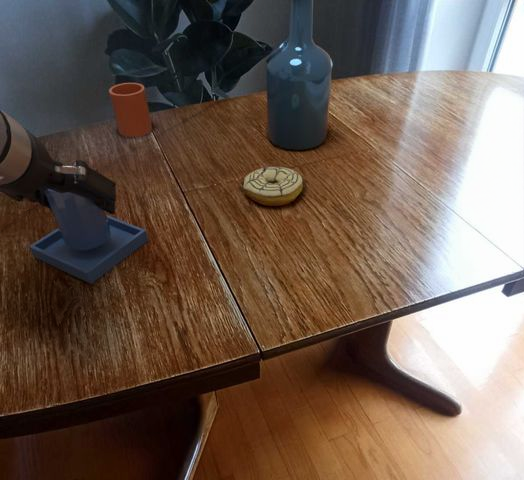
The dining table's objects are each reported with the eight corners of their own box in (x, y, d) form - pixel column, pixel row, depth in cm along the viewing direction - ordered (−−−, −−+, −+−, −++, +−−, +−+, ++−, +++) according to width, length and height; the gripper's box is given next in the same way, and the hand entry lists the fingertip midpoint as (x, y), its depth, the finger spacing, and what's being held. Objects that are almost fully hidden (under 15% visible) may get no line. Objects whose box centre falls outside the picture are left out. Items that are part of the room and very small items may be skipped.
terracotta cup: (113, 139, 105) (101, 91, 97) (136, 127, 109) (126, 80, 101) (138, 146, 102) (127, 98, 94) (160, 134, 106) (151, 86, 99)
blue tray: (33, 257, 76) (28, 246, 74) (93, 218, 83) (89, 208, 81) (90, 284, 71) (86, 273, 69) (148, 240, 78) (146, 229, 76)
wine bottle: (335, 132, 105) (352, -39, 82) (312, 157, 97) (324, -25, 75) (281, 122, 109) (283, -43, 87) (255, 145, 101) (249, -31, 79)
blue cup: (54, 241, 74) (29, 183, 67) (88, 219, 78) (69, 162, 71) (86, 255, 71) (65, 196, 64) (120, 231, 76) (103, 173, 68)
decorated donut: (262, 176, 92) (261, 157, 89) (310, 188, 88) (312, 169, 86) (234, 200, 86) (233, 181, 83) (285, 215, 82) (286, 195, 80)
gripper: (-86, 186, 52) (26, 228, 75) (91, 187, 52) (149, 229, 74) (-88, 119, 52) (25, 181, 75) (91, 118, 51) (149, 182, 74)
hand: (87, 205), depth 75 cm, fingers closed on blue cup, 7 cm apart
